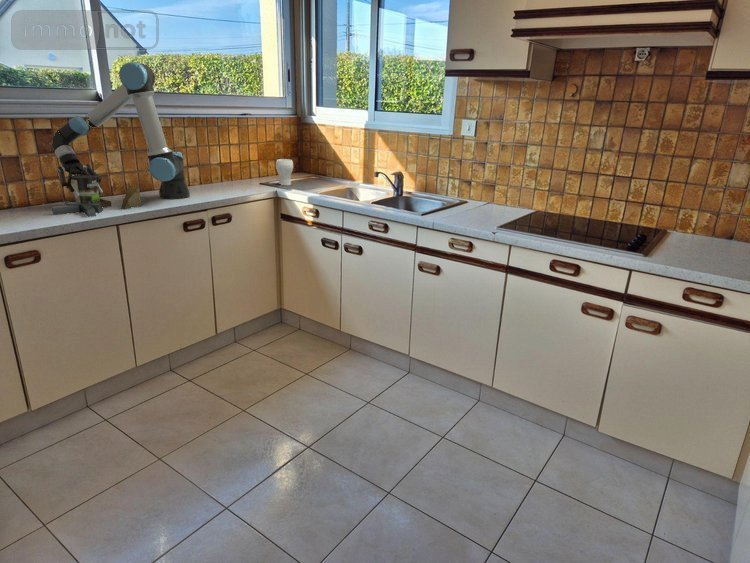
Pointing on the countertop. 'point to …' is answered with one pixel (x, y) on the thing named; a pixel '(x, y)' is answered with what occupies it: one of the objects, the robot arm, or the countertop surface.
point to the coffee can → (86, 188)
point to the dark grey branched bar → (78, 208)
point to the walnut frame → (102, 201)
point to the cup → (284, 170)
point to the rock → (131, 198)
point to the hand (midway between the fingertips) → (90, 195)
